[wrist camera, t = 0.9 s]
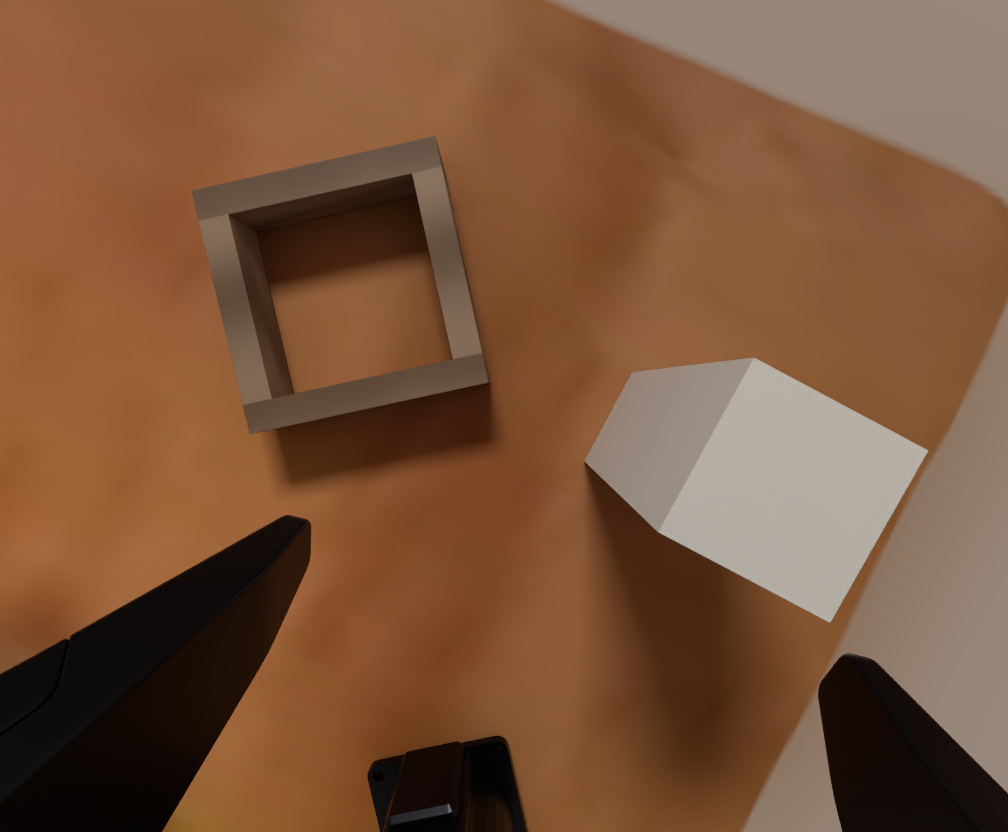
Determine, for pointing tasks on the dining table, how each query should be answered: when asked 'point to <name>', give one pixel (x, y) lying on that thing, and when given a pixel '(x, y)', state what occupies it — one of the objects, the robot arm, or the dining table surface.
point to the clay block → (756, 474)
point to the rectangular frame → (314, 194)
